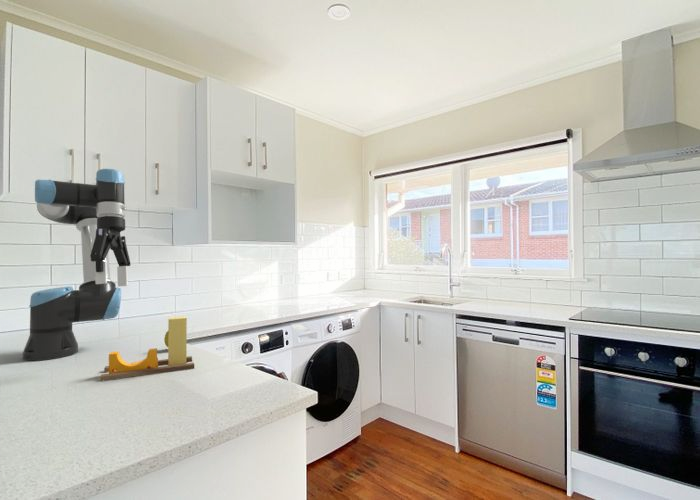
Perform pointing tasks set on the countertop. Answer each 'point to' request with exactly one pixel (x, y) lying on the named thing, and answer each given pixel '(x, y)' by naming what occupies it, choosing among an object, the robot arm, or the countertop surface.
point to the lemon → (166, 339)
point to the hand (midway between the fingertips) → (112, 285)
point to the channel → (147, 370)
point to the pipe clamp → (122, 366)
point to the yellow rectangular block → (177, 340)
